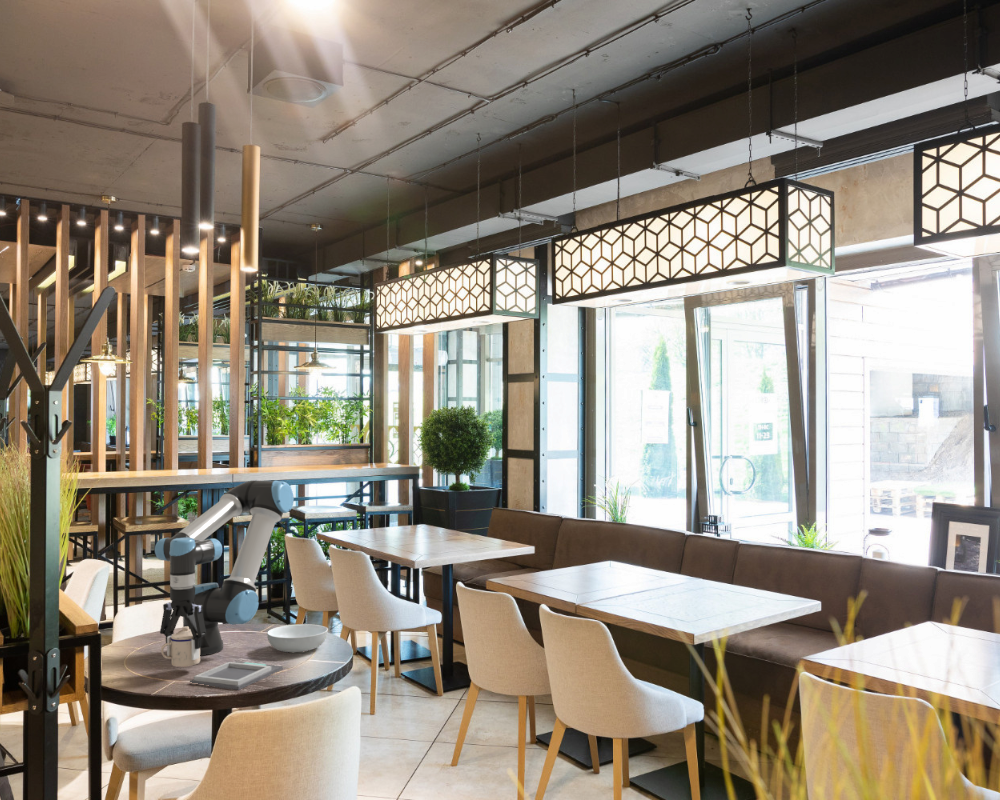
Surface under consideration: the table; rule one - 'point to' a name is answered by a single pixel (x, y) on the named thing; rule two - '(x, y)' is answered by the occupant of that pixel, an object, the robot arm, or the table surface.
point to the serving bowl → (297, 637)
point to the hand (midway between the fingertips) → (183, 657)
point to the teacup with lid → (181, 649)
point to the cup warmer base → (235, 674)
